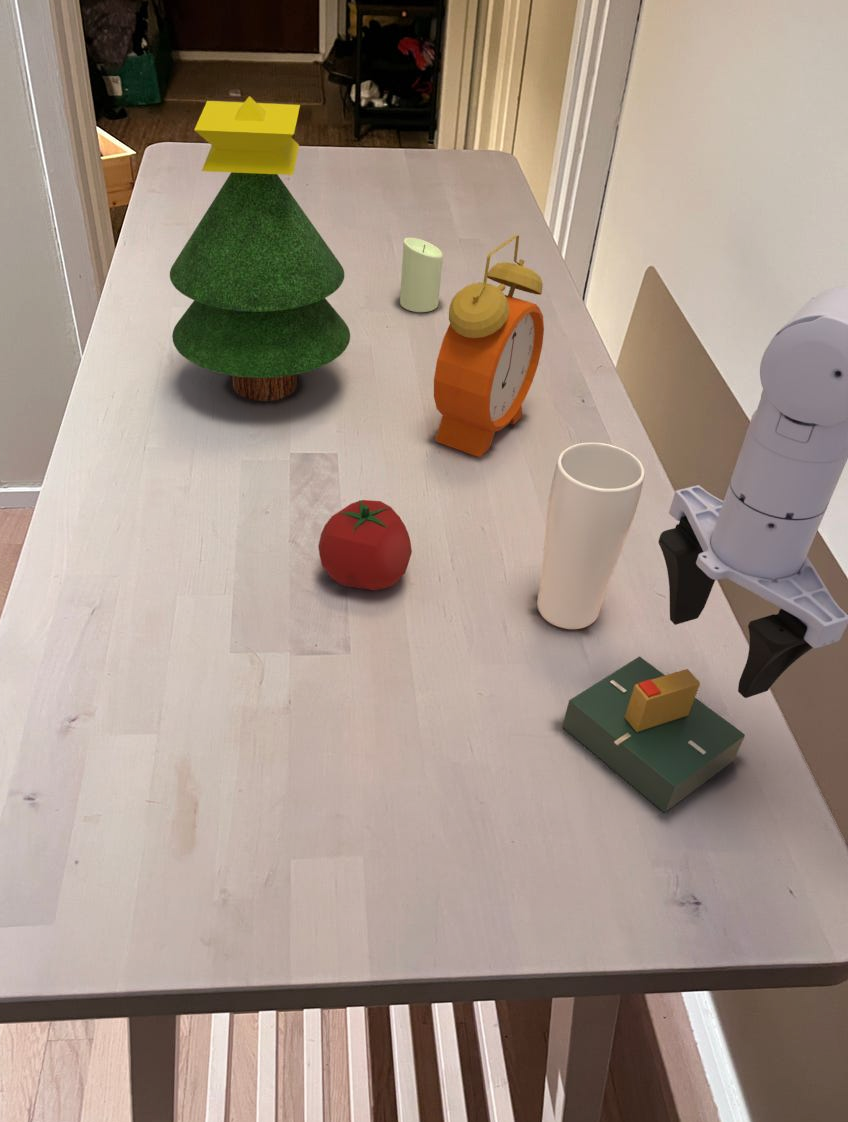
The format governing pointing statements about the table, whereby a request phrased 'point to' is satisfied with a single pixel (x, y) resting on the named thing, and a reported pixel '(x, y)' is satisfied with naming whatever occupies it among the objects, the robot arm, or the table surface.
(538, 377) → the table surface
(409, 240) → the candle
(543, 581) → the drinking glass
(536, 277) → the alarm clock
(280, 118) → the decorative tree
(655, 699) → the yellow block
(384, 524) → the tomato
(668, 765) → the knob panel
